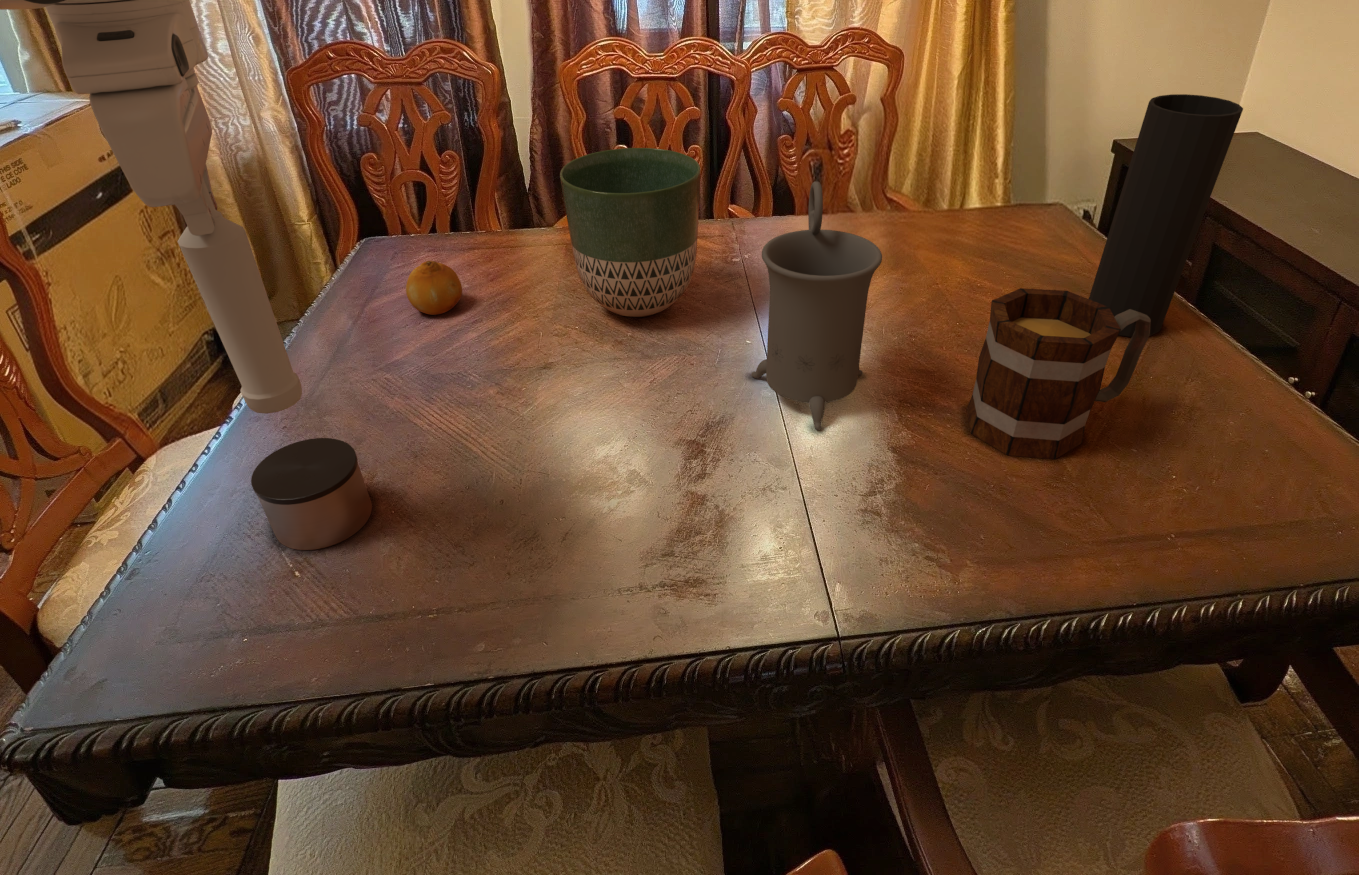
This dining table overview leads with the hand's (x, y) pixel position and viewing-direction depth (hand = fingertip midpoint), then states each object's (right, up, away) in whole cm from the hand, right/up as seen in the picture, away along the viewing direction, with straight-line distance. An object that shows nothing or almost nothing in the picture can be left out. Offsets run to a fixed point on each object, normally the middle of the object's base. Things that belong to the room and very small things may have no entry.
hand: (205, 223), depth 66 cm
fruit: (+1, +2, +59) cm, 59 cm away
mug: (+84, -16, +31) cm, 91 cm away
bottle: (0, -14, +11) cm, 18 cm away
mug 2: (+56, -12, +38) cm, 69 cm away
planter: (+33, +2, +58) cm, 67 cm away
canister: (+1, -26, +20) cm, 33 cm away
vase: (+104, -1, +51) cm, 116 cm away
